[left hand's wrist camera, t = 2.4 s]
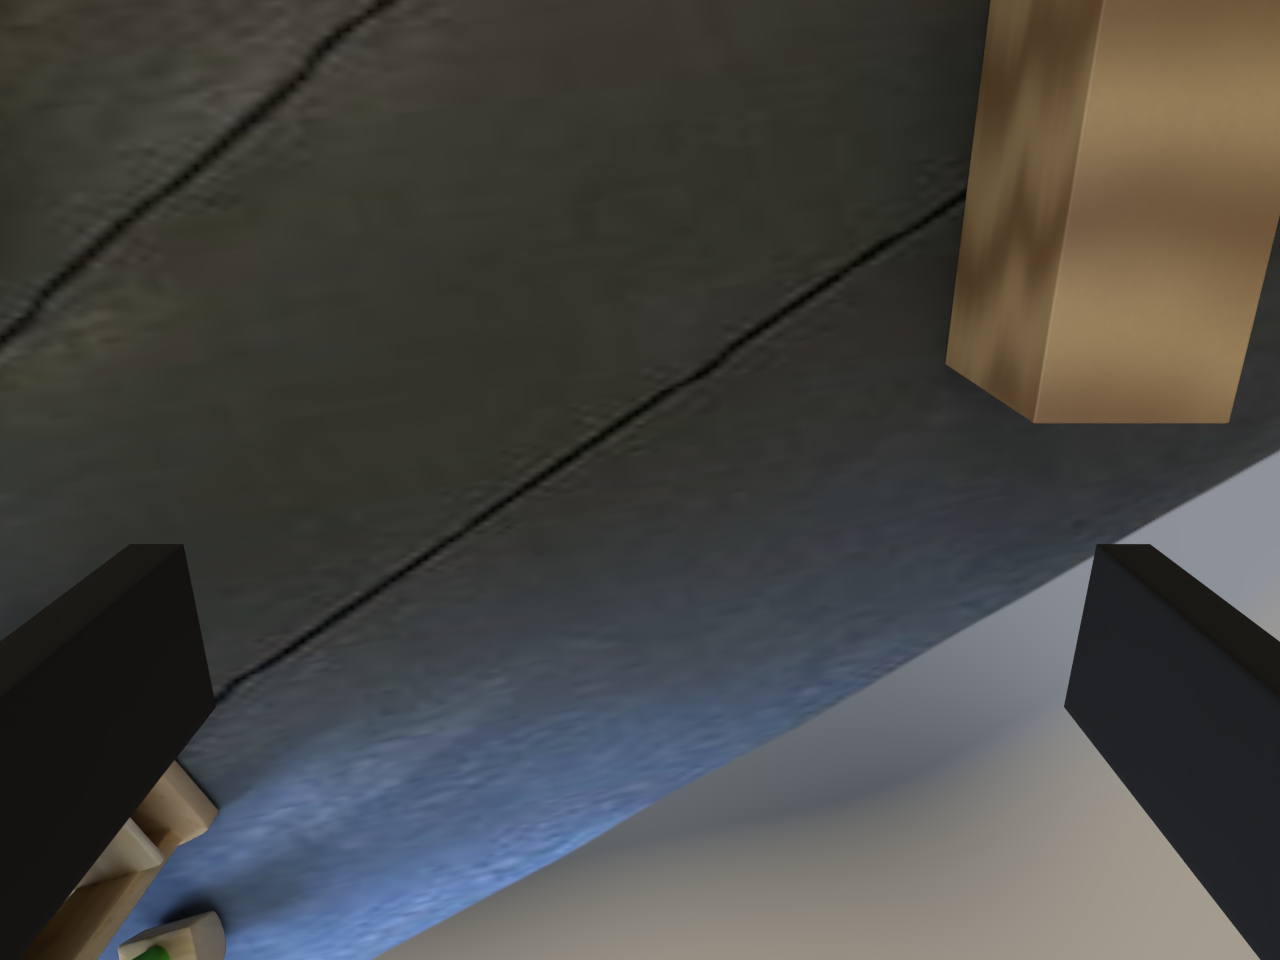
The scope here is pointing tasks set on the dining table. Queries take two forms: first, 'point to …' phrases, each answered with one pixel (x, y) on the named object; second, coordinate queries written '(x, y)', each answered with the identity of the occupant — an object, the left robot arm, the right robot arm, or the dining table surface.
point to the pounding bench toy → (137, 885)
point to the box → (1119, 207)
